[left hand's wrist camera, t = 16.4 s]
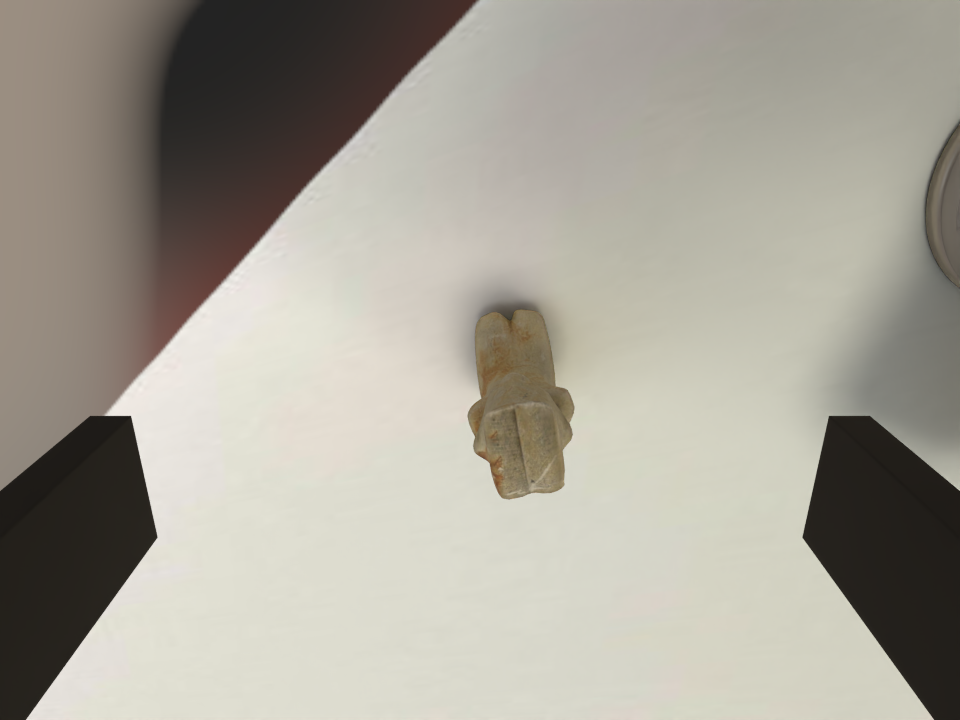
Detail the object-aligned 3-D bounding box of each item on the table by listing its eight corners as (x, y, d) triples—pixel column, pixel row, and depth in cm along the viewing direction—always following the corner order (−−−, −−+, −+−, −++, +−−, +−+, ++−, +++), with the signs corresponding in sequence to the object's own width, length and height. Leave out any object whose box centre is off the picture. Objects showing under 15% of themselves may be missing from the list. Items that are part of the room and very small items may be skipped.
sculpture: (554, 300, 43) (589, 398, 30) (559, 399, 46) (593, 533, 32) (465, 307, 44) (458, 409, 30) (475, 406, 46) (473, 541, 32)
